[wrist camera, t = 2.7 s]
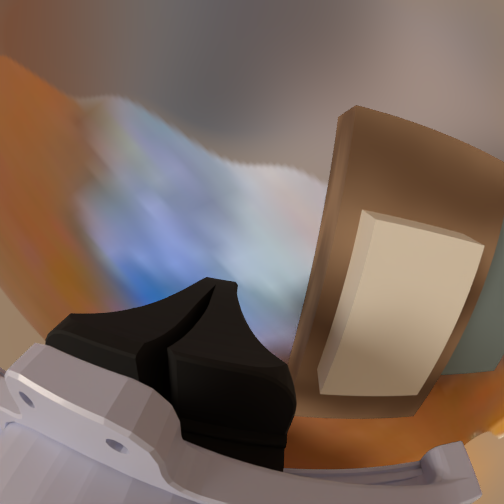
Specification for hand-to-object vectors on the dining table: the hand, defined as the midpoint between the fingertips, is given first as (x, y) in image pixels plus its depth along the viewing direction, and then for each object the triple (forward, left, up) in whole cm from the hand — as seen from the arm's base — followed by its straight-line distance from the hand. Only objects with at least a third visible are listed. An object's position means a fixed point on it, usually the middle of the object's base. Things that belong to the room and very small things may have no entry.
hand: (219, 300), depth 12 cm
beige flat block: (0, -8, -2) cm, 9 cm away
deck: (0, -9, -6) cm, 11 cm away
